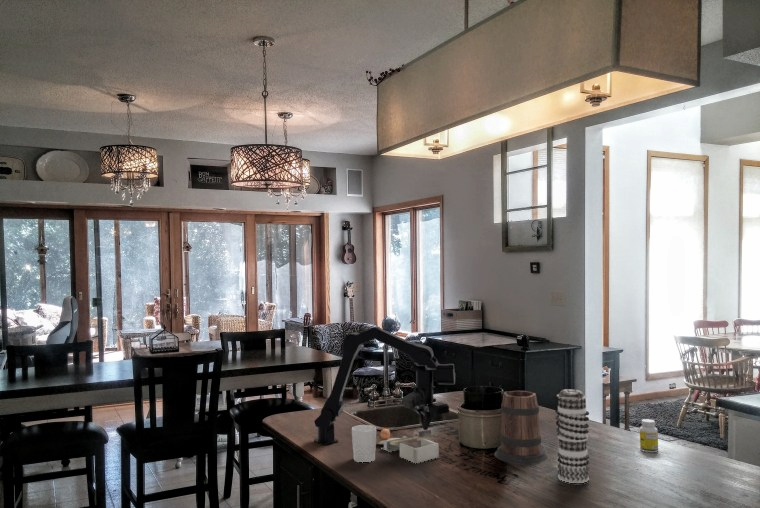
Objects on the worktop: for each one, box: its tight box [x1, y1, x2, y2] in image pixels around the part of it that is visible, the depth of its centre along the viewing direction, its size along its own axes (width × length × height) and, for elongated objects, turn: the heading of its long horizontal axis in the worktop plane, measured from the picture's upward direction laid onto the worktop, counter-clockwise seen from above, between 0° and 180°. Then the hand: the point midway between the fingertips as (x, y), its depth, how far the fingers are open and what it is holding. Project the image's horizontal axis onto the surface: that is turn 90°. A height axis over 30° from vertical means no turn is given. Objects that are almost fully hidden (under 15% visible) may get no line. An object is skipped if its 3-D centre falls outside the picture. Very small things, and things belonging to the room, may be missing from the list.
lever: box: [376, 429, 436, 445], centre depth 201 cm, size 16×15×2 cm
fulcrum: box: [380, 435, 409, 453], centre depth 198 cm, size 5×9×3 cm, turn 125°
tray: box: [399, 438, 440, 465], centre depth 188 cm, size 8×10×4 cm
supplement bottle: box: [639, 418, 659, 453], centre depth 192 cm, size 5×5×10 cm
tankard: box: [493, 390, 549, 465], centre depth 192 cm, size 24×17×20 cm
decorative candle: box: [554, 388, 590, 484], centre depth 168 cm, size 9×9×25 cm
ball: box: [379, 428, 391, 440], centre depth 203 cm, size 4×4×4 cm
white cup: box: [351, 424, 377, 464], centre depth 187 cm, size 8×8×10 cm
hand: (425, 429), depth 199 cm, fingers closed
